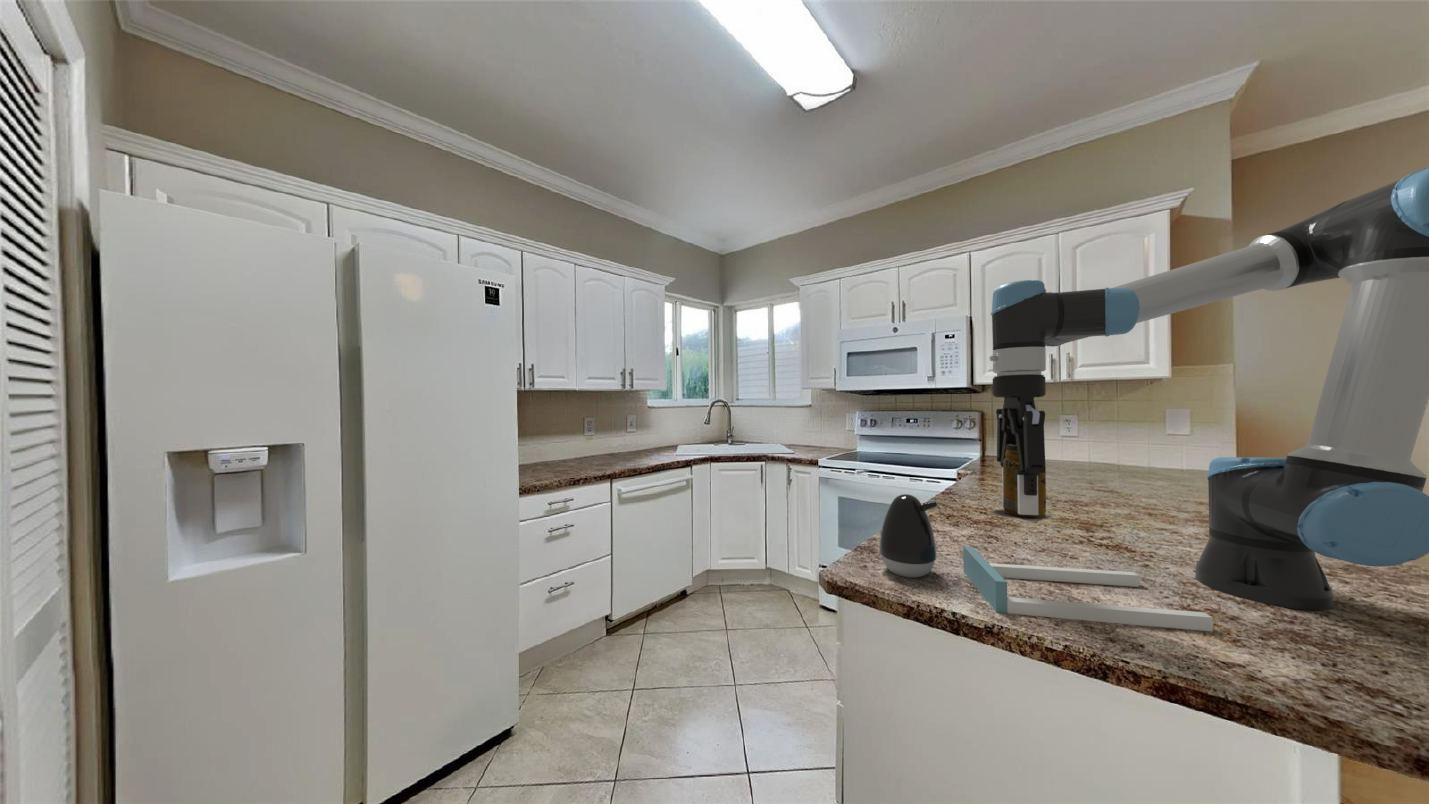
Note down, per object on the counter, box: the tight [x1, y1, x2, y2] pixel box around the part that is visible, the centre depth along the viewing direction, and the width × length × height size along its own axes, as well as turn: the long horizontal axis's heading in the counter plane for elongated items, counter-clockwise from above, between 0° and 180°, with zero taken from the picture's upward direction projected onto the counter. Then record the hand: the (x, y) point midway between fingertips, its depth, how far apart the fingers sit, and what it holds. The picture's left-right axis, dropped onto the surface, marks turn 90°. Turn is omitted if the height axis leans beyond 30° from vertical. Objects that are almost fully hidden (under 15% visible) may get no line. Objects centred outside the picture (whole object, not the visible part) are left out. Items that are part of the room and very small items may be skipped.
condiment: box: [986, 444, 1057, 524], centre depth 77 cm, size 7×8×12 cm
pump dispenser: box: [878, 493, 938, 579], centre depth 88 cm, size 10×10×15 cm
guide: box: [962, 545, 1214, 633], centre depth 76 cm, size 28×17×5 cm, turn 76°
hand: (1019, 509), depth 78 cm, fingers closed on condiment, 6 cm apart
